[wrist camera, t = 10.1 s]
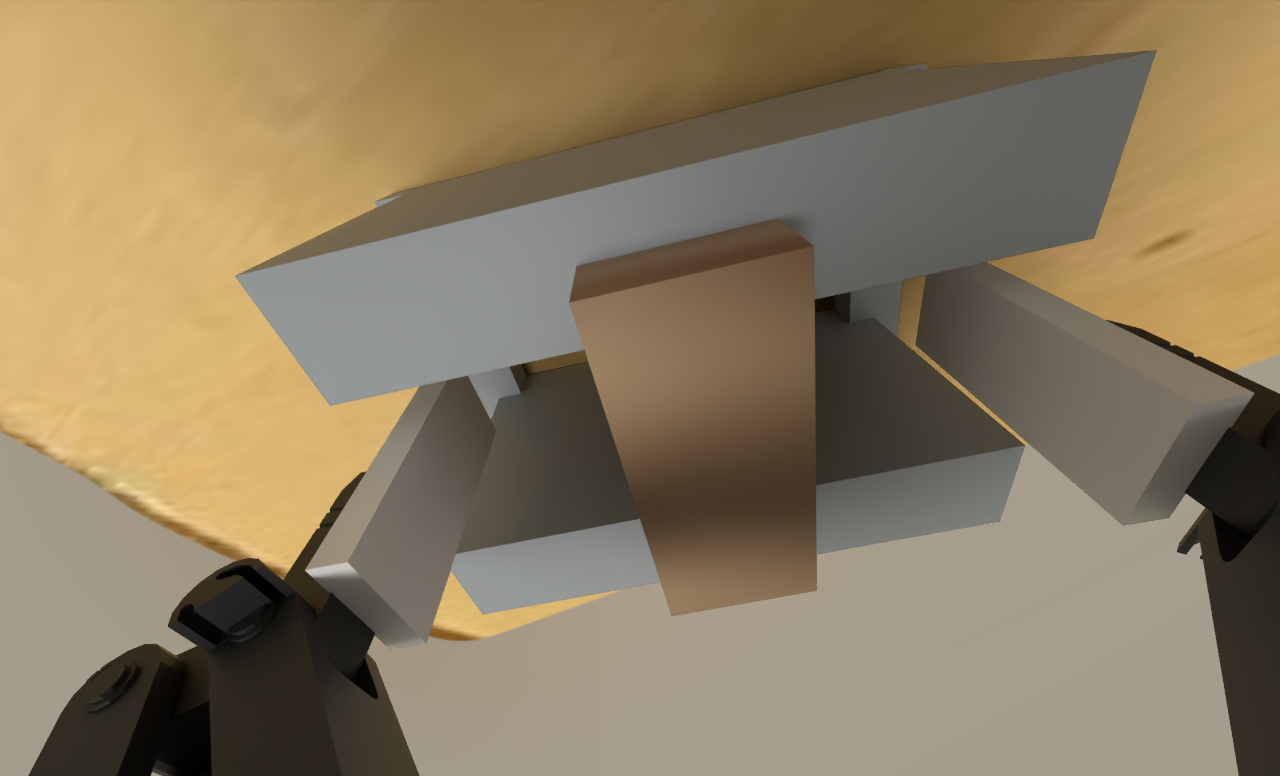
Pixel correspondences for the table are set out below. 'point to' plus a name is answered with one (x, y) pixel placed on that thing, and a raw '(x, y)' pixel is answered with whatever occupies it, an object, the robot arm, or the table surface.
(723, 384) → the wooden t-shaped block
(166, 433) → the table surface
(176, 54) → the table surface
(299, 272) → the slot stand
